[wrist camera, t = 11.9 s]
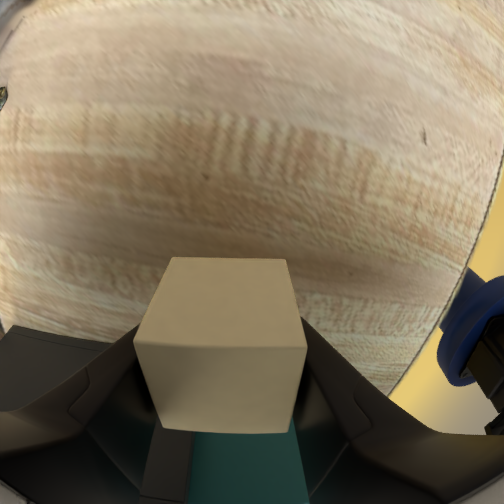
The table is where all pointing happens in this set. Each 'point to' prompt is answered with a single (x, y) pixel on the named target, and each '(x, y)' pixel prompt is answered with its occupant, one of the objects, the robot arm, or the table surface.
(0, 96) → the small metal piece
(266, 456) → the teal drawer
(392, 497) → the robot arm
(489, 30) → the table surface
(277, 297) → the block
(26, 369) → the drawer cabinet
